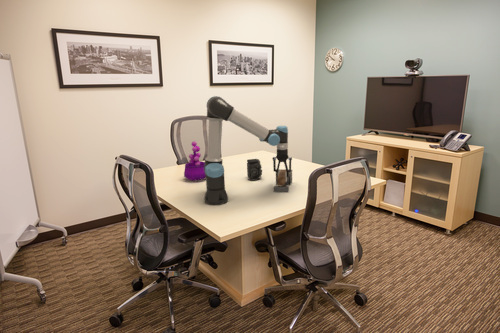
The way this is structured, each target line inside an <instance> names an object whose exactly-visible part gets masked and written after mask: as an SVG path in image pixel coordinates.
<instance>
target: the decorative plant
mask: <svg viewBox="0 0 500 333" xmlns="http://www.w3.org/2000/svg"><path fill="white" fill-rule="evenodd" d="M197 144H198V142H196V141H192V142H191V146H192V148H191V150H192V152H193V153H191V154H189V155H188V158H189V161H188V162H186V163H185V164H184V172H183V177H185V179H187V180H189V181H195V182H197V181H202V180H204V179H206V176H205V172H204V165H205V161H200V158H201V157H202V155H201V153H200V151H201V147H200V146H198V145H197Z"/></svg>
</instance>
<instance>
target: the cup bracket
mask: <svg viewBox="0 0 500 333" xmlns="http://www.w3.org/2000/svg"><path fill="white" fill-rule="evenodd" d="M276 170H277V168H276ZM281 170H285V171H286V168H285V169H283V168H282V169H281V168H279V170H278V172H279V173H280V171H281ZM275 183H276V184H275V186H278V185H277V177H276V176H275ZM291 184H293V169H291V172H289V173H288V177H287V182H285V185H284V186H291Z"/></svg>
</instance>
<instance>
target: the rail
mask: <svg viewBox="0 0 500 333" xmlns="http://www.w3.org/2000/svg"><path fill="white" fill-rule="evenodd" d="M285 173H286V171H285V170H281V171H280V173H279V175H278V177H277V185H276V186H286V185H285Z"/></svg>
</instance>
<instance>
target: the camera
mask: <svg viewBox="0 0 500 333" xmlns="http://www.w3.org/2000/svg"><path fill="white" fill-rule="evenodd" d="M246 161H247V162H246V168H247V169H246V170H247V171H246V174H247V175H246V176H247V178H248V180H249V181H255V180H256V181H258V180H260V178H261V177H262V176H263V169H262V168H263V167H262V164H261V160H260V159H258V158H252V159H247V160H246Z"/></svg>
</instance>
